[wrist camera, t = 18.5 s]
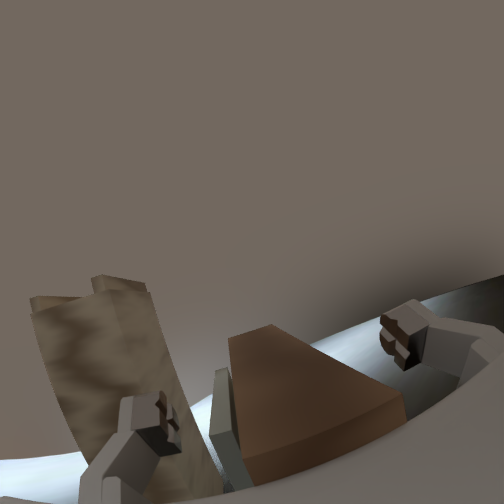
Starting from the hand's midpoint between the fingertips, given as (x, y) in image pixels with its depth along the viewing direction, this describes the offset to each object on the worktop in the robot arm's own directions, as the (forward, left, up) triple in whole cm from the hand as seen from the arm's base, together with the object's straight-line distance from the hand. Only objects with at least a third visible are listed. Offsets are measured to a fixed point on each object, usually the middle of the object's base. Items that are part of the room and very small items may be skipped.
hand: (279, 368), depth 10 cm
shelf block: (-13, +18, -20) cm, 30 cm away
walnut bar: (0, +4, -4) cm, 6 cm away
